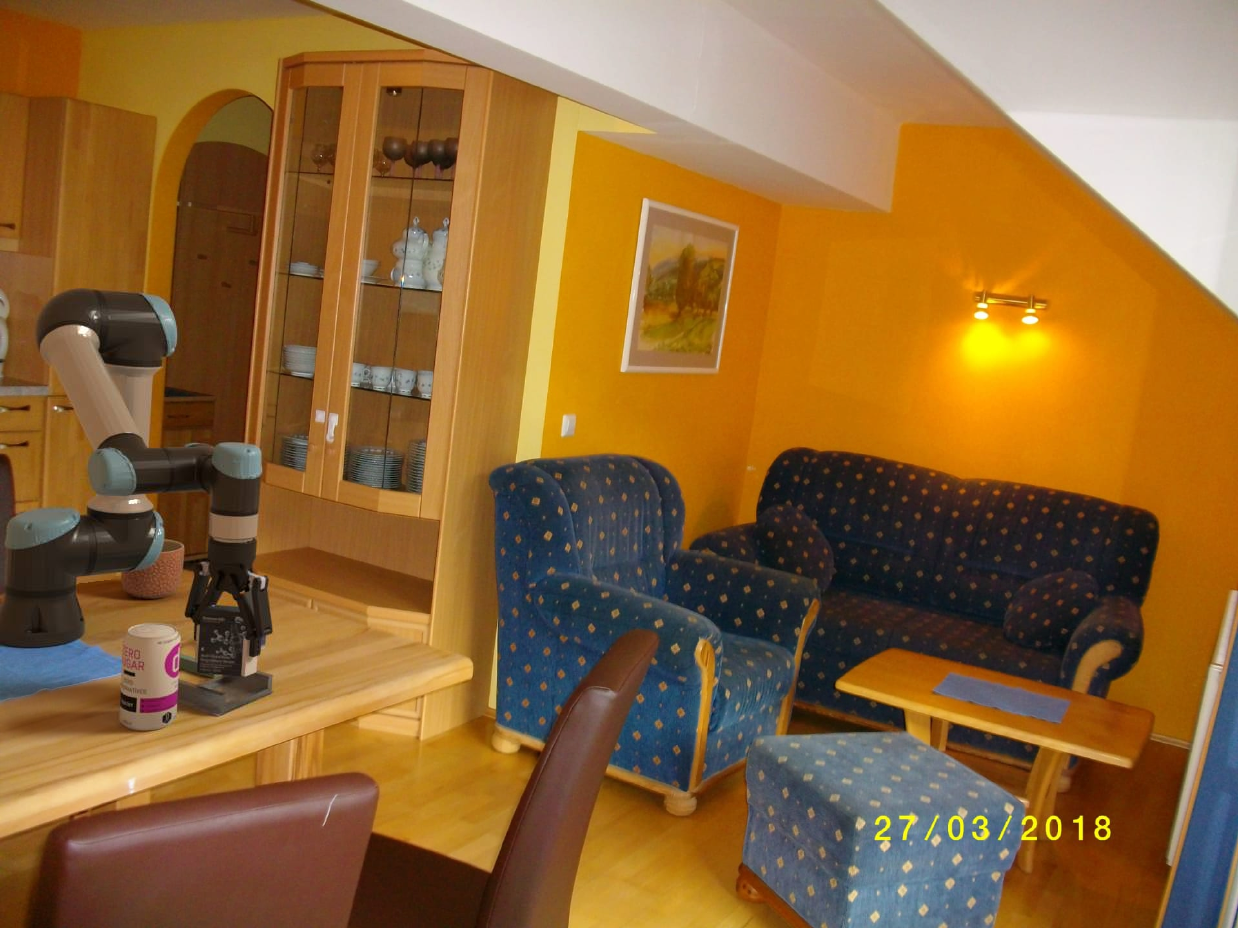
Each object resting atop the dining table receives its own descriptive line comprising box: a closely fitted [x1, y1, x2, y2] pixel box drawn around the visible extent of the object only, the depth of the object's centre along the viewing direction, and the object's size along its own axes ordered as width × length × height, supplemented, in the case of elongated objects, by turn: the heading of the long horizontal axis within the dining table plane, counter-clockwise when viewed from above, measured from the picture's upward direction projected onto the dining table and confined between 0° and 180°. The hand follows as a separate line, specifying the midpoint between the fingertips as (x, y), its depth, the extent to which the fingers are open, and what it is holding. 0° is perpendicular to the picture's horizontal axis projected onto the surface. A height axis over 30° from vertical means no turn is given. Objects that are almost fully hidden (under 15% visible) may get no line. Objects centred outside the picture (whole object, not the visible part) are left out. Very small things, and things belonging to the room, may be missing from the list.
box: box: [196, 604, 255, 677], centre depth 175 cm, size 8×6×11 cm
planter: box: [120, 538, 185, 600], centre depth 224 cm, size 12×12×11 cm
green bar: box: [179, 652, 221, 679], centre depth 187 cm, size 14×2×2 cm, turn 68°
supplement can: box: [118, 622, 182, 732], centre depth 163 cm, size 8×8×15 cm
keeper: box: [177, 669, 274, 717], centre depth 176 cm, size 10×13×3 cm
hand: (225, 666), depth 175 cm, fingers closed on box, 9 cm apart
